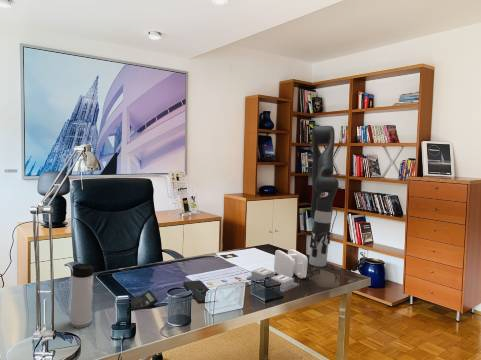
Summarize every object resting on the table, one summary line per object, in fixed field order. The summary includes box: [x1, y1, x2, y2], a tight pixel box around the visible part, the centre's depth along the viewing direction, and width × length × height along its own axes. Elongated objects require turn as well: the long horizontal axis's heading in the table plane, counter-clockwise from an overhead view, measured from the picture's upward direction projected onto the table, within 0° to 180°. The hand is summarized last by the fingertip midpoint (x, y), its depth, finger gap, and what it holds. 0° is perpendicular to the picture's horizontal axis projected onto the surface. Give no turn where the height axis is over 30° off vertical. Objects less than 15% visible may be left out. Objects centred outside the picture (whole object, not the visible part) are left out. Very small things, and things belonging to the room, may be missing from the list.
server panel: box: [246, 267, 300, 294], centre depth 172 cm, size 13×20×4 cm, turn 50°
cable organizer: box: [273, 248, 309, 279], centre depth 182 cm, size 15×11×12 cm
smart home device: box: [182, 279, 210, 305], centre depth 155 cm, size 8×2×20 cm
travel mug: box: [70, 263, 94, 329], centre depth 121 cm, size 6×7×20 cm
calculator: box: [129, 289, 159, 312], centre depth 140 cm, size 9×12×3 cm
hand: (318, 255), depth 172 cm, fingers open, 8 cm apart
